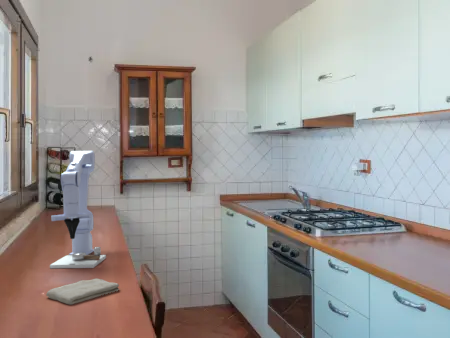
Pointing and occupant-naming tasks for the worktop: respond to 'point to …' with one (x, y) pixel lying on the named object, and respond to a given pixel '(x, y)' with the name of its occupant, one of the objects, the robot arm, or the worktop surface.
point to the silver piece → (83, 255)
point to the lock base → (76, 262)
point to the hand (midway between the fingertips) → (72, 238)
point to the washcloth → (82, 291)
